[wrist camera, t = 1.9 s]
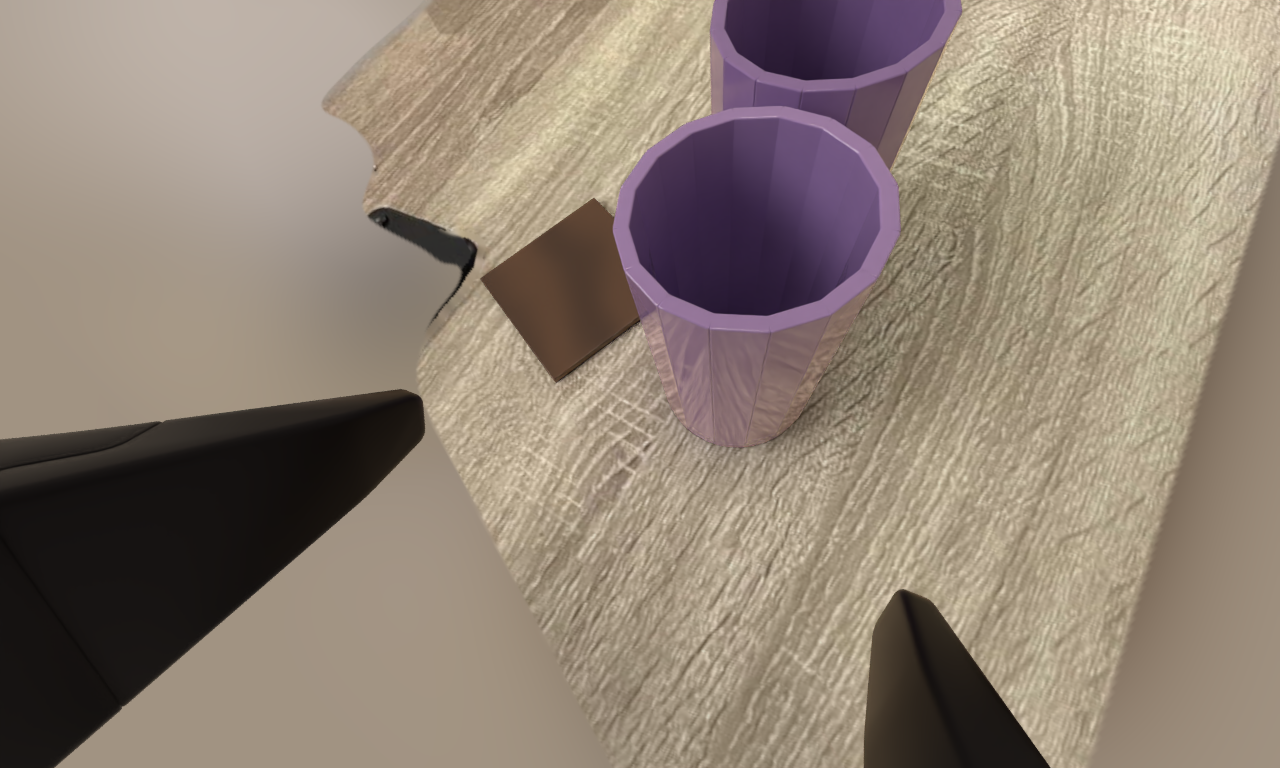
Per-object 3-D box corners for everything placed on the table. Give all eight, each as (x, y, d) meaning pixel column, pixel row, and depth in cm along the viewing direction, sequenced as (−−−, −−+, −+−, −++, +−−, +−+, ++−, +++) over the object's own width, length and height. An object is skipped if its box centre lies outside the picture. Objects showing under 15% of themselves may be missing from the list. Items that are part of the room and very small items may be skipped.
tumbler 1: (775, 335, 23) (828, 130, 12) (689, 252, 25) (665, 19, 14) (877, 256, 23) (1020, -12, 12) (783, 182, 26) (830, -94, 15)
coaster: (556, 382, 24) (553, 380, 24) (483, 282, 27) (479, 278, 27) (680, 289, 25) (680, 285, 24) (595, 201, 28) (593, 197, 27)
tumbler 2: (726, 477, 21) (734, 390, 10) (638, 371, 23) (565, 207, 12) (840, 386, 21) (969, 207, 10) (741, 293, 24) (760, 68, 13)
